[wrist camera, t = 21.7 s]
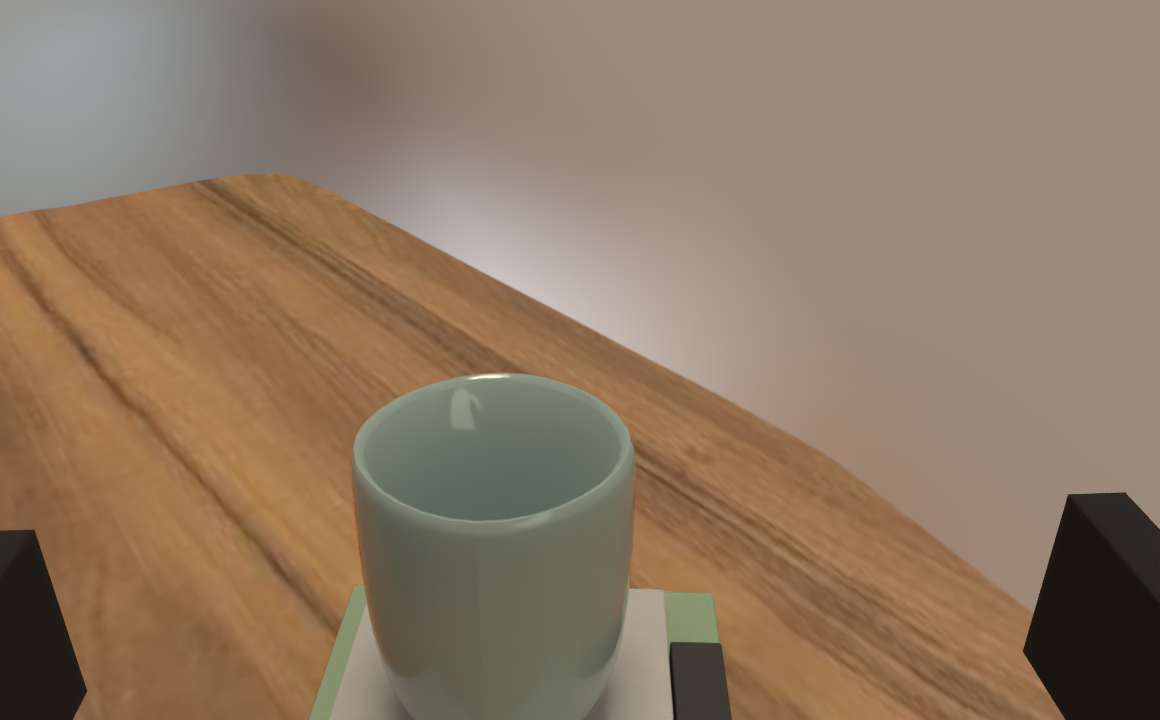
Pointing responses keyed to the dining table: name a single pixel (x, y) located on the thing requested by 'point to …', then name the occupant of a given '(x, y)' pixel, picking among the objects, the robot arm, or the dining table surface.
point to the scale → (631, 698)
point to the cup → (495, 545)
